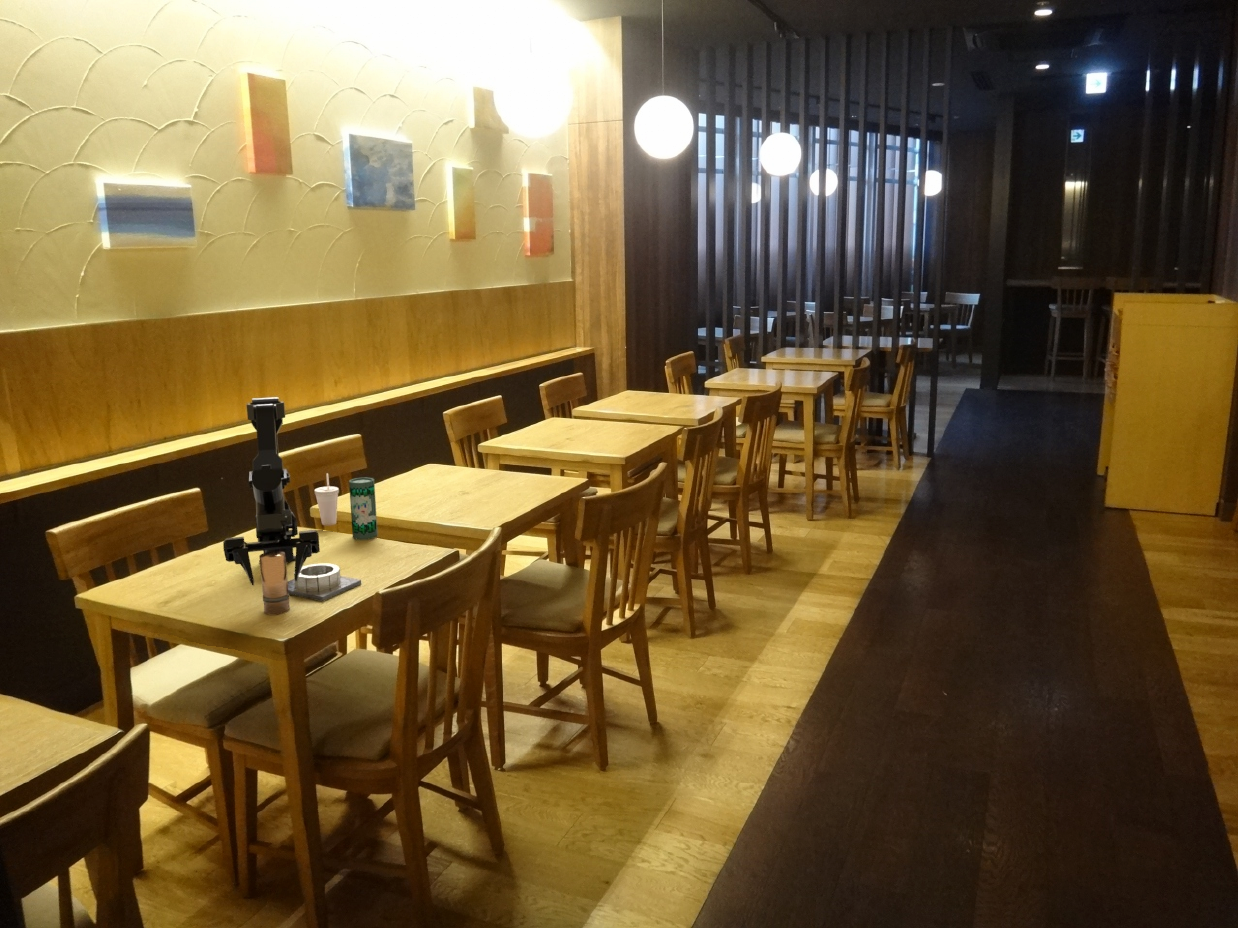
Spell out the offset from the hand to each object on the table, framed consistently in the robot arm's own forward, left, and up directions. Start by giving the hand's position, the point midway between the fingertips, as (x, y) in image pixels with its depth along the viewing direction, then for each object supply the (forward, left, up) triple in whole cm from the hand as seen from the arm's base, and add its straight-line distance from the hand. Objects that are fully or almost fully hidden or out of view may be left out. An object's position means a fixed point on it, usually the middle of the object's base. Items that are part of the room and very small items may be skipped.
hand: (274, 582), depth 200 cm
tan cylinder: (-1, +1, -7) cm, 7 cm away
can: (-20, +50, -7) cm, 54 cm away
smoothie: (-37, +55, -7) cm, 67 cm away
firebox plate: (-3, +15, -7) cm, 17 cm away
